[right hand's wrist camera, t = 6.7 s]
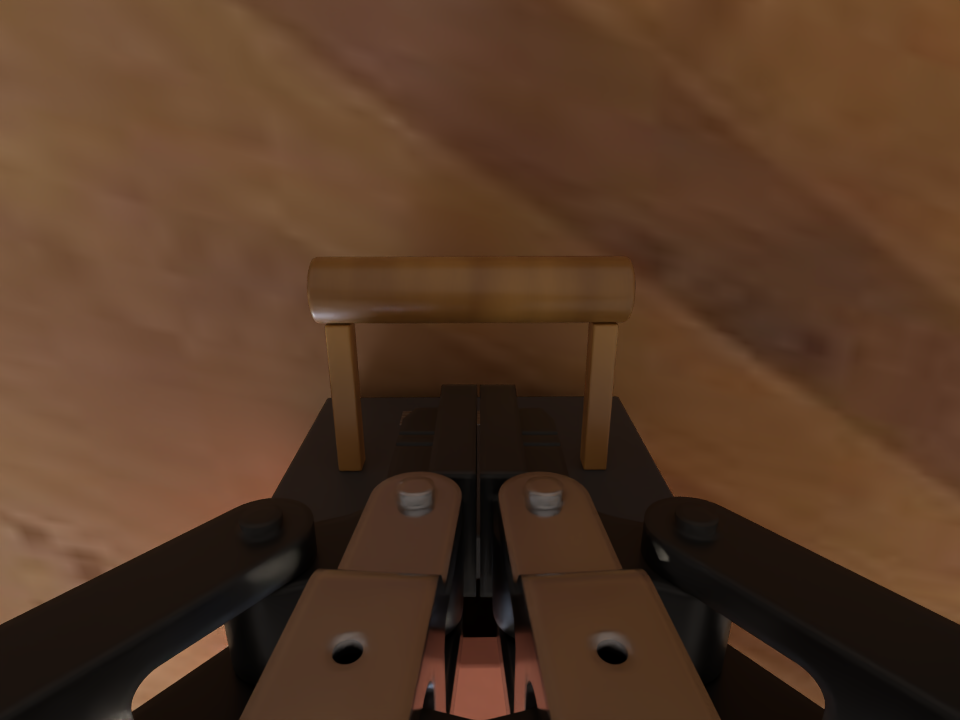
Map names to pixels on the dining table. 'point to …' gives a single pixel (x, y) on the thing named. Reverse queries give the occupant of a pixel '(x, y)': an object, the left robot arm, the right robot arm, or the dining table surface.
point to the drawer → (477, 299)
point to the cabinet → (479, 680)
